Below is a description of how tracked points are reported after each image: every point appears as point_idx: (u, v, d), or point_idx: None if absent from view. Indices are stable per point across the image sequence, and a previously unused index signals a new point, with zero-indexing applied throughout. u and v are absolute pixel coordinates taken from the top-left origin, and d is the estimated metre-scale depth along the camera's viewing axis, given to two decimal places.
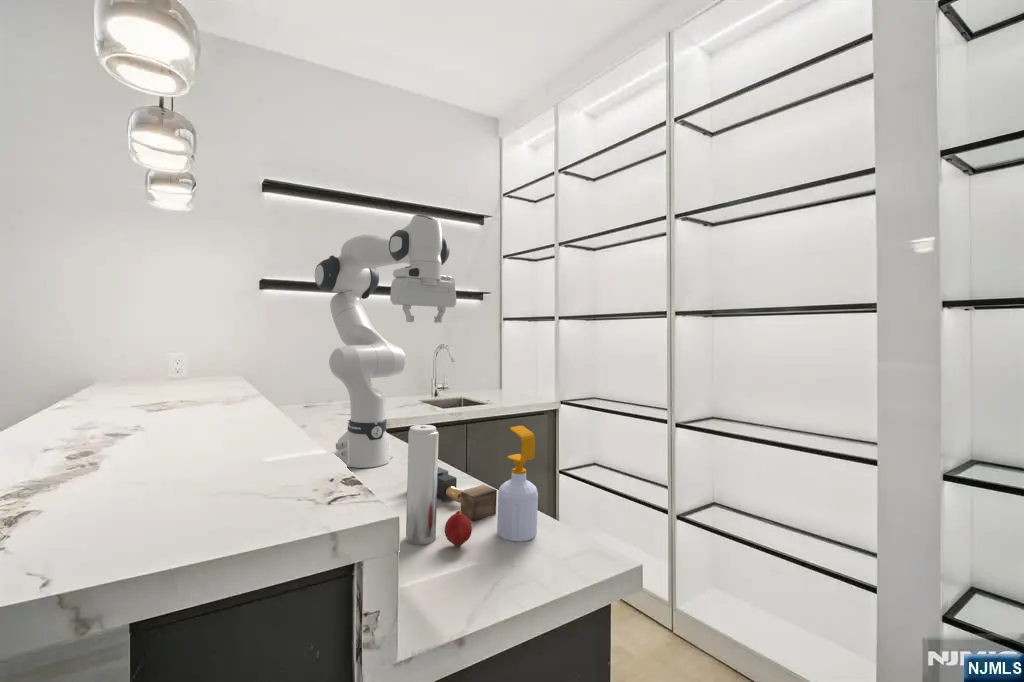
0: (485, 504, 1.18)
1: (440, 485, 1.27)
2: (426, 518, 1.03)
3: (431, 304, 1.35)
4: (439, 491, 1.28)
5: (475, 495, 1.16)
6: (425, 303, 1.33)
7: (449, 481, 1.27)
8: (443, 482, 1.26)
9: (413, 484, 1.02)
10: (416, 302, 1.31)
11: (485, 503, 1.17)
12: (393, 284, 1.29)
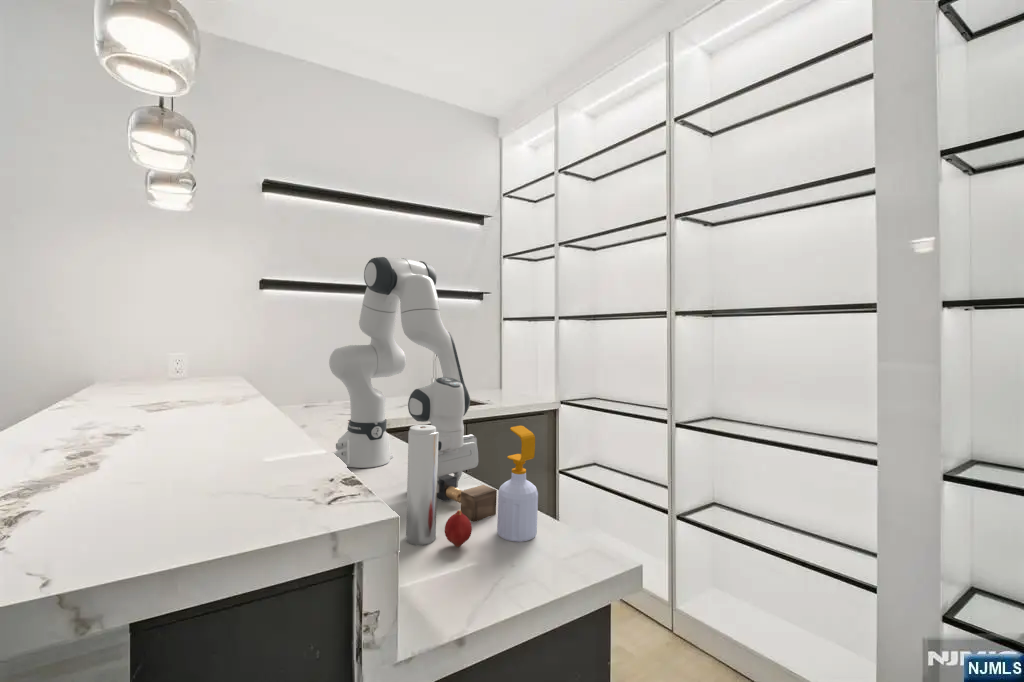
0: (485, 504, 1.18)
1: None
2: (426, 518, 1.03)
3: (453, 471, 1.28)
4: None
5: (475, 495, 1.16)
6: (447, 472, 1.27)
7: (449, 481, 1.27)
8: (443, 482, 1.26)
9: (413, 484, 1.02)
10: (438, 474, 1.25)
11: (485, 503, 1.17)
12: None
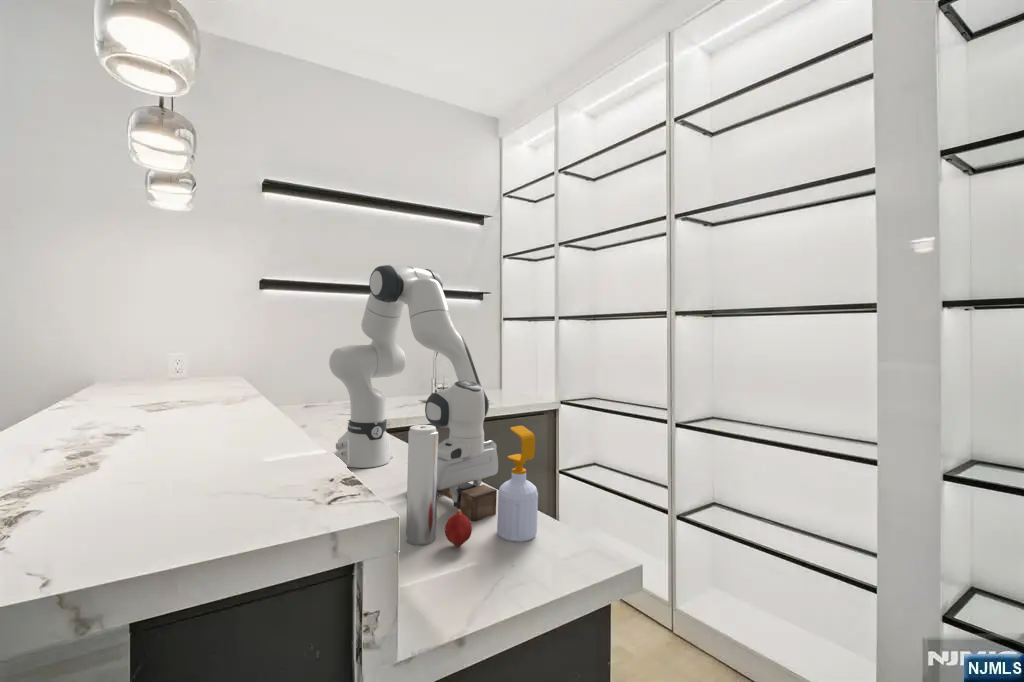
0: (485, 504, 1.18)
1: None
2: (426, 518, 1.03)
3: (473, 479, 1.22)
4: None
5: (475, 495, 1.16)
6: (467, 480, 1.21)
7: None
8: (462, 490, 1.21)
9: (413, 484, 1.02)
10: (457, 482, 1.19)
11: (485, 503, 1.17)
12: None
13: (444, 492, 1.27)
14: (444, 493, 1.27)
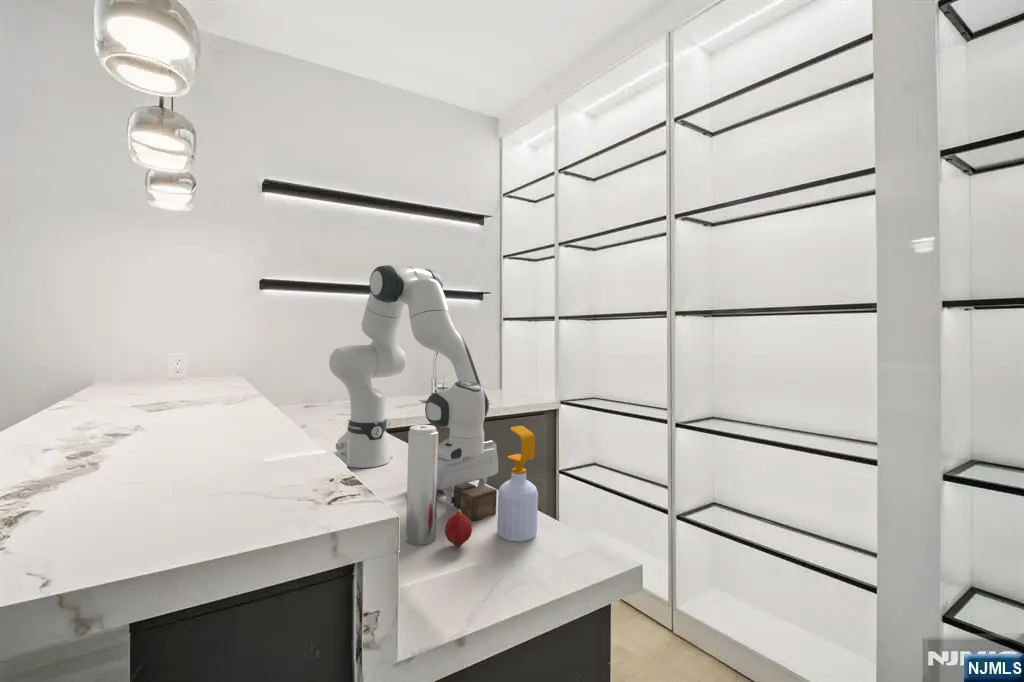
0: (485, 504, 1.18)
1: (459, 494, 1.21)
2: (426, 518, 1.03)
3: (473, 479, 1.22)
4: (457, 500, 1.22)
5: (475, 495, 1.16)
6: (467, 480, 1.21)
7: None
8: (462, 490, 1.21)
9: (413, 484, 1.02)
10: (457, 482, 1.19)
11: (485, 503, 1.17)
12: None
13: None
14: None
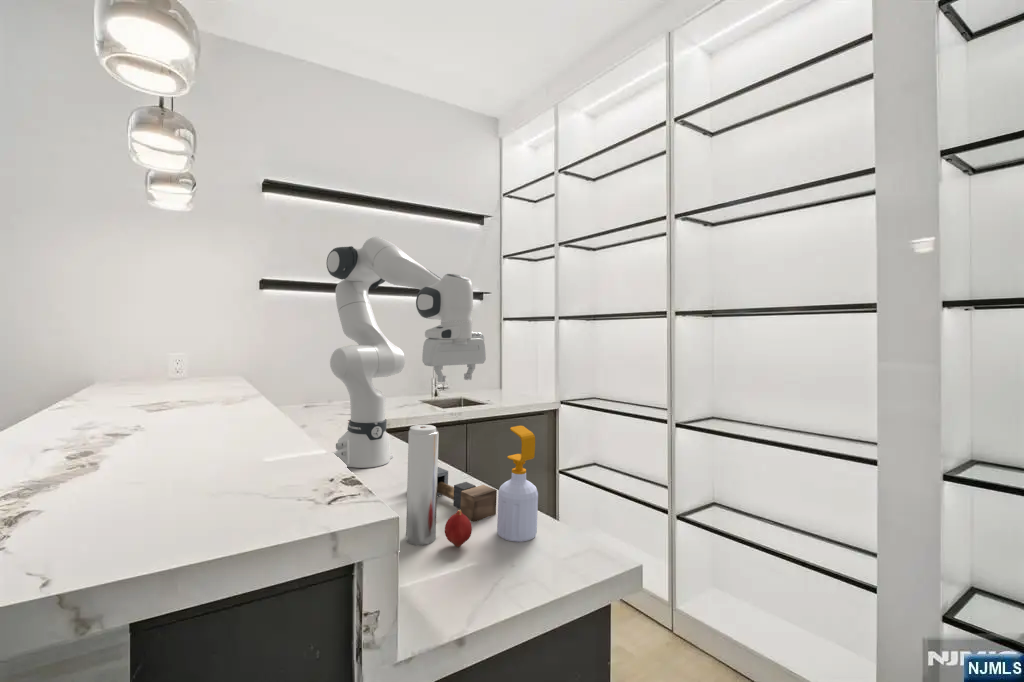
0: (485, 504, 1.18)
1: (459, 494, 1.21)
2: (426, 518, 1.03)
3: (462, 363, 1.35)
4: (457, 500, 1.22)
5: (475, 495, 1.16)
6: (456, 362, 1.33)
7: None
8: (462, 490, 1.21)
9: (413, 484, 1.02)
10: (448, 362, 1.31)
11: (485, 503, 1.17)
12: (425, 345, 1.29)
13: (444, 492, 1.27)
14: (444, 493, 1.27)
